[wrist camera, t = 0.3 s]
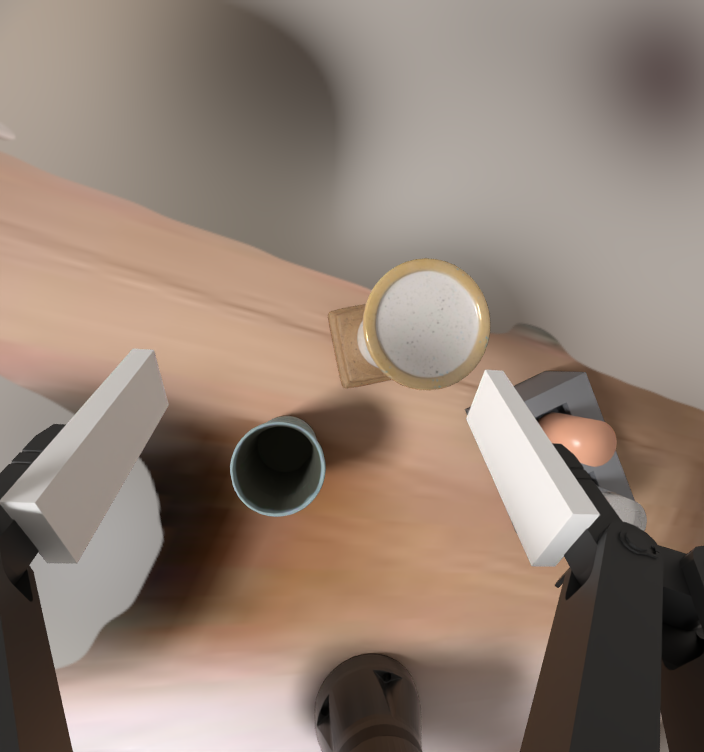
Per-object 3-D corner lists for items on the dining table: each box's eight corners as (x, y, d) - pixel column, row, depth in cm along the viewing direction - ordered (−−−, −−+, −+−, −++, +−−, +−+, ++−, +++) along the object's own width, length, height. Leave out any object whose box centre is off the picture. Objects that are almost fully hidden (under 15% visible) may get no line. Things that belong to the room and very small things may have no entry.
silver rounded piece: (602, 507, 48) (652, 532, 41) (569, 525, 47) (615, 552, 40) (588, 473, 47) (637, 492, 40) (555, 490, 47) (599, 512, 40)
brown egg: (576, 441, 47) (622, 454, 40) (542, 458, 46) (584, 474, 39) (562, 405, 47) (607, 412, 40) (528, 422, 46) (568, 432, 39)
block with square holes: (592, 492, 56) (639, 513, 48) (516, 533, 54) (552, 561, 46) (544, 371, 54) (585, 372, 46) (465, 409, 53) (493, 416, 45)
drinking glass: (295, 493, 50) (292, 533, 38) (233, 456, 49) (209, 486, 37) (335, 432, 50) (343, 453, 39) (274, 394, 49) (263, 403, 37)
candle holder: (401, 299, 51) (483, 241, 27) (415, 373, 52) (507, 379, 28) (326, 312, 50) (345, 264, 26) (342, 389, 50) (374, 409, 27)
